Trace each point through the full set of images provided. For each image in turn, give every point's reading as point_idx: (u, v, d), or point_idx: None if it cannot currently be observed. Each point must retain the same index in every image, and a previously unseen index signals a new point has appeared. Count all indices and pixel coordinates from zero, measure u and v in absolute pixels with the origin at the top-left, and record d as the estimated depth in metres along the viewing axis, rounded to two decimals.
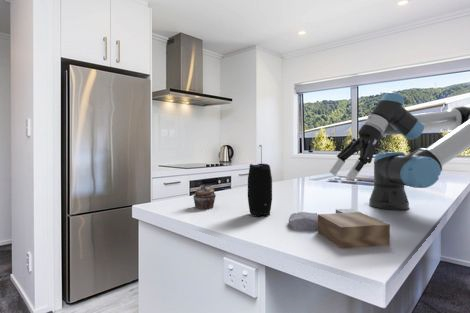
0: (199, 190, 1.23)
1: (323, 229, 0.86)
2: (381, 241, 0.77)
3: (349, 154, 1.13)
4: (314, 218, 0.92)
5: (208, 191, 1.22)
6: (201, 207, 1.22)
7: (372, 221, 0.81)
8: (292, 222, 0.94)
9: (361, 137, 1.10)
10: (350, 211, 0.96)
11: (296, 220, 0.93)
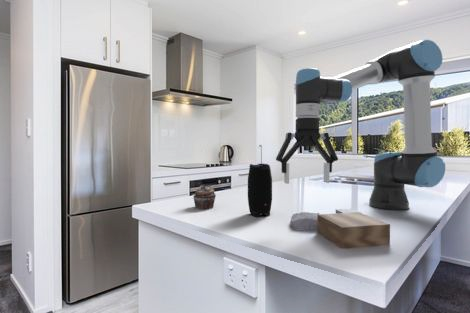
0: (199, 190, 1.23)
1: (323, 229, 0.85)
2: (381, 241, 0.78)
3: None
4: (316, 218, 0.92)
5: (208, 191, 1.22)
6: (201, 207, 1.22)
7: (372, 221, 0.81)
8: (294, 222, 0.93)
9: (304, 131, 0.93)
10: (350, 211, 0.96)
11: (298, 220, 0.93)
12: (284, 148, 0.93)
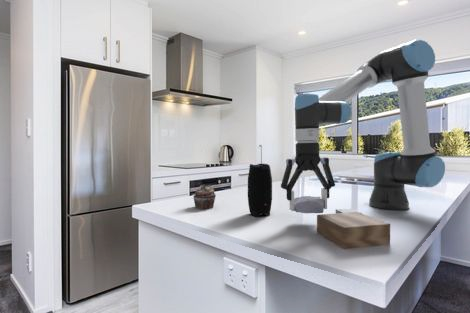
0: (199, 190, 1.23)
1: (323, 229, 0.85)
2: (382, 240, 0.78)
3: None
4: (318, 200, 0.92)
5: (208, 191, 1.22)
6: (201, 207, 1.22)
7: (372, 221, 0.81)
8: (296, 205, 0.93)
9: (304, 156, 0.94)
10: (350, 211, 0.96)
11: (300, 203, 0.93)
12: (287, 175, 0.93)
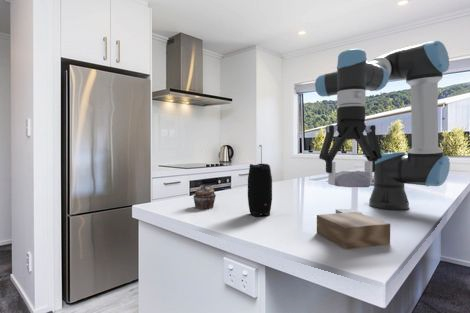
0: (199, 190, 1.23)
1: (323, 230, 0.85)
2: (382, 240, 0.78)
3: None
4: (364, 173, 0.80)
5: (208, 191, 1.22)
6: (201, 207, 1.22)
7: (372, 221, 0.81)
8: (338, 178, 0.81)
9: (347, 122, 0.81)
10: (350, 211, 0.96)
11: (343, 175, 0.80)
12: (328, 144, 0.81)
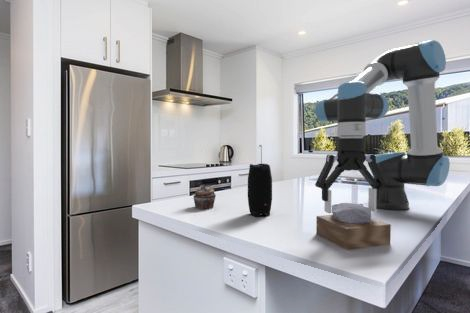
0: (199, 190, 1.23)
1: (324, 231, 0.84)
2: (383, 241, 0.78)
3: None
4: (365, 209, 0.80)
5: (208, 191, 1.22)
6: (201, 207, 1.22)
7: (372, 221, 0.81)
8: (339, 213, 0.81)
9: (348, 153, 0.82)
10: None
11: (344, 211, 0.80)
12: (326, 173, 0.81)
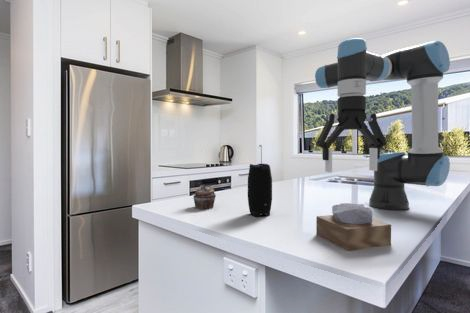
0: (199, 190, 1.23)
1: (324, 231, 0.84)
2: (383, 241, 0.78)
3: None
4: (366, 209, 0.79)
5: (208, 191, 1.22)
6: (201, 207, 1.22)
7: (373, 222, 0.81)
8: (340, 214, 0.80)
9: (348, 112, 0.81)
10: None
11: (345, 212, 0.79)
12: (326, 132, 0.81)
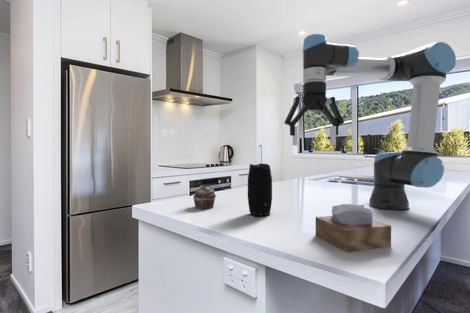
0: (199, 190, 1.23)
1: (323, 232, 0.83)
2: (383, 242, 0.76)
3: None
4: (366, 210, 0.77)
5: (208, 191, 1.22)
6: (201, 207, 1.22)
7: (372, 223, 0.80)
8: (339, 215, 0.79)
9: (311, 95, 0.97)
10: None
11: (344, 213, 0.78)
12: (292, 111, 0.97)
